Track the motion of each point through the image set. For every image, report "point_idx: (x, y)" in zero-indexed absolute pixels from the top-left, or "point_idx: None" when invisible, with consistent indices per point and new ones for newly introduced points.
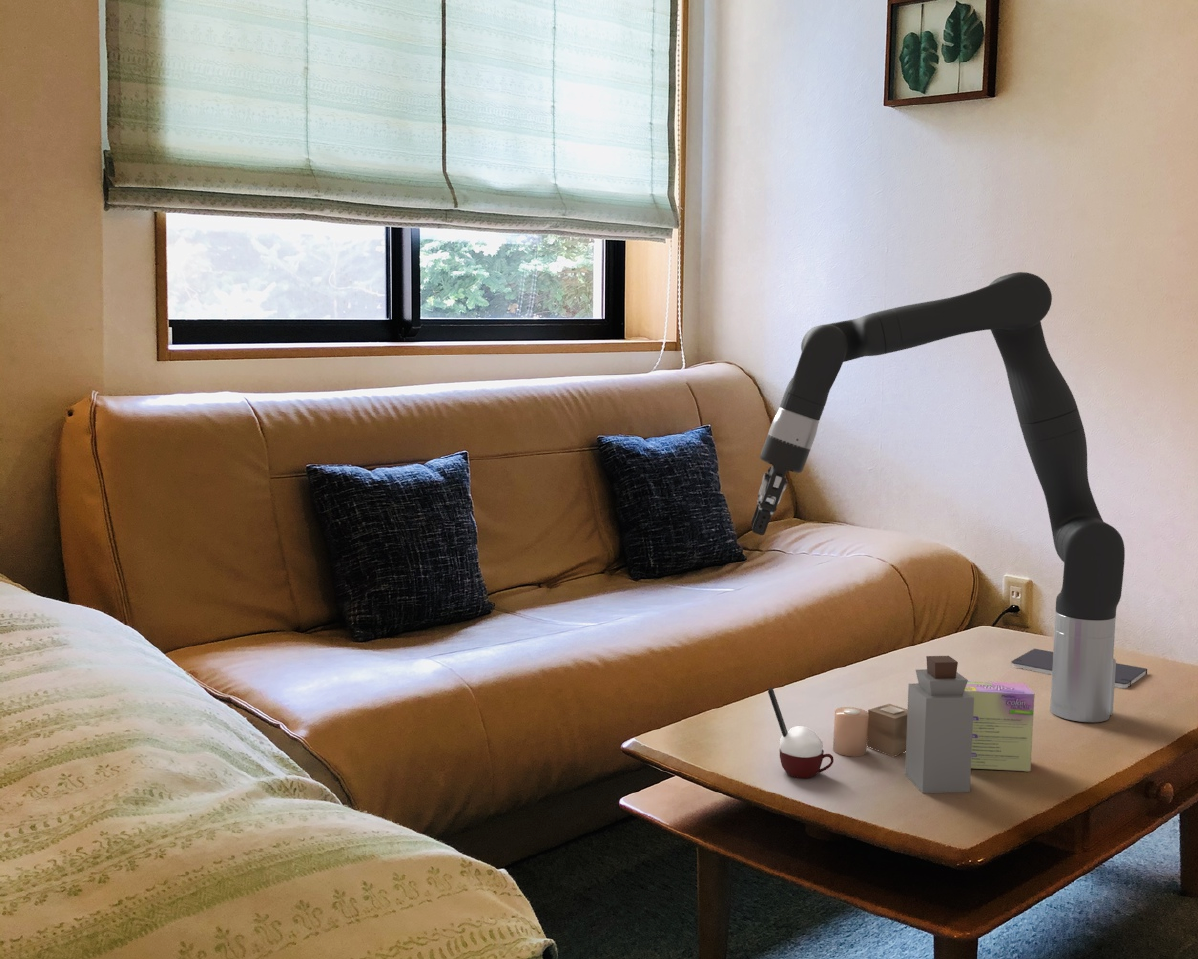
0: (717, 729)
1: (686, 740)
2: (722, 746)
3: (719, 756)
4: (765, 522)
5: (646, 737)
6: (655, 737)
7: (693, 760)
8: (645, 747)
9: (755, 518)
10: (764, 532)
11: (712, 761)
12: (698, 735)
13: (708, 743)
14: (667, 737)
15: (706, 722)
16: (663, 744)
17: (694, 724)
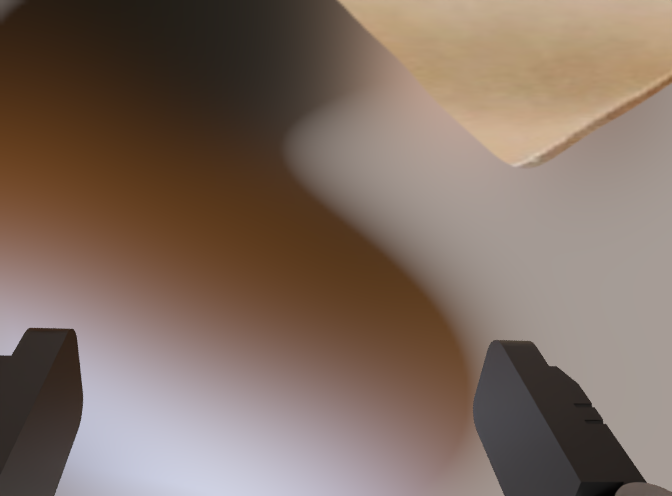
0: (477, 13)
1: (532, 84)
2: (591, 11)
3: (647, 23)
4: (609, 438)
5: (496, 153)
6: (500, 139)
7: (647, 76)
8: (549, 155)
9: (61, 444)
10: (537, 353)
11: (668, 39)
12: (508, 58)
13: (563, 40)
14: (505, 118)
15: (424, 35)
16: (542, 126)
17: (434, 63)
